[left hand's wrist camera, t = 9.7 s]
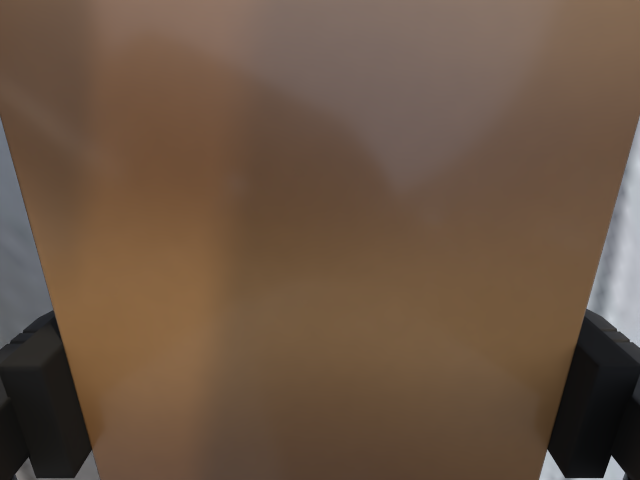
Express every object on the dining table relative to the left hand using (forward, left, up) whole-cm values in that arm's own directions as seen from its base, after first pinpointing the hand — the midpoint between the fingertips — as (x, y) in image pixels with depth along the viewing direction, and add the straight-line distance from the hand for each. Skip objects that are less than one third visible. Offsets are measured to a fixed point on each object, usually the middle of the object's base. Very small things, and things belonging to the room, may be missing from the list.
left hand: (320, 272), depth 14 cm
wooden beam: (-3, +29, -1) cm, 29 cm away
